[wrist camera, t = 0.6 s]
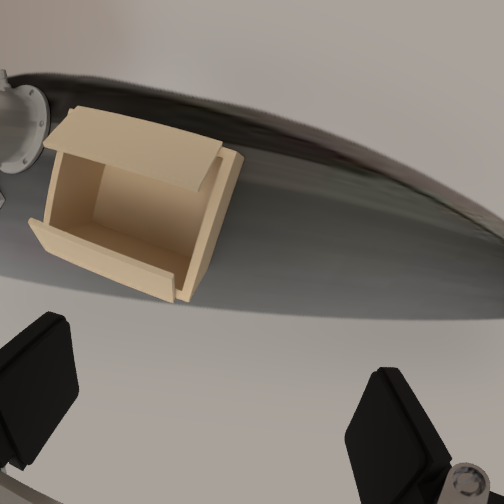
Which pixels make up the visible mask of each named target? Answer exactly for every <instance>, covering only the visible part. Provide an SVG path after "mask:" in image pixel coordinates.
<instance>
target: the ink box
mask: <svg viewBox="0 0 504 504" xmlns="http://www.w3.org/2000/svg"><path fill="white" fill-rule="evenodd" d="M4 201H5V199H4V197H3V195H2V194H1V192H0V208H1V206H2V205H3V203H4Z"/></svg>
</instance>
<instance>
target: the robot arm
mask: <svg viewBox="0 0 504 504" xmlns="http://www.w3.org/2000/svg"><path fill="white" fill-rule="evenodd" d="M49 126H50V108H49V104H48V101H47V98H46V96H45V95H44V93H43V92H42V91H41V90H40V89H38V88H37V87H34V86H30V85H22V86H19V87H16V88H15V89H12V88H11V85H10V84H8V79H7V74H6V71H5V70H0V170H1V171H3V172H5V173H9V174H14V173H20V172H23V171H24V170H26V169H28V168H29V167H30V166H31V165H32V164H33V163H34V162H35V161H36V160H37V158H38V157H39V155H40V153H41V152H42V149H43V147H44V145H43V142H44V141H45V139H46V138H47V136H48V132H49ZM78 393H79V385H78V379H77V374H76V368H75V362H74V355H73V348H72V339H71V332H70V324H69V323H68V322H67V321H66V318H65V317H64V316H63V315H60V314H56V313H53V312H49V311H48V312H46V313H45V314H43V315H42V316H41V317H39V318H38V319H37V320H36V321H35V322H33V323H32V324H30V325H29V326H28V327H27V328H25V329H24V330H23V331H22V332H20V333H19V334H18V335H17V336H15V337H14V338H13V339H12V340H11V341H9V342H8V343H7V344H6V345H5V346H3V347H2V348H1V349H0V504H63V503H61V502H58V501H56V500H54V499H52V498H50V497H48V496H46V495H44V494H42V493H40V492H38V491H36V490H34V489H32V488H30V487H28V486H26V485H25V484H23V483H21V482H19V481H17V480H16V479H14V478H12V477H10V476H9V475H7V474H6V469H5V465H6V464H7V463H8V462H9V464H11V465H13V466H15V467H16V468H18V469H20V470H22V471H23V470H24V469H25V467H26V465H31V464H32V463H33V462H34V460H35V459H36V457H37V456H38V454H39V453H40V451H41V449H42V448H43V446H44V445H45V443H46V442H47V440H48V439H49V437H50V436H51V434H52V433H53V431H54V430H55V428H56V427H57V425H58V424H59V423H60V421H61V420H62V418H63V417H64V415H65V414H66V413H67V411H68V409H69V408H70V407H71V405H72V404H73V403H74V401H75V399H76V398H77V396H78ZM345 444H346V448H347V452H348V455H349V459H350V463H351V466H352V470H353V474H354V478H355V481H356V485H357V489H358V492H359V497H360V501H361V504H504V496H501V495H499V494H496V493H494V492H491V491H490V481H489V478H488V476H487V474H486V473H485V471H484V470H482V469H481V468H480V467H478V466H476V465H474V464H471V463H459V464H456V465H455V466H453V467H452V466H451V464H450V461H451V460H452V457H451V455H450V454H449V452H448V450H447V448H446V447H445V445H444V443H443V441H442V440H441V438H440V436H439V434H438V433H437V431H436V429H435V428H434V426H433V424H432V422H431V421H430V419H429V417H428V416H427V414H426V412H425V411H424V409H423V408H422V406H421V404H420V403H419V401H418V399H417V398H416V396H415V394H414V393H413V391H412V389H411V388H410V386H409V384H408V383H407V381H406V380H405V378H404V376H403V375H402V373H401V372H400V370H399V369H398V368H394V367H380V368H379V369H378V370H377V371H375V372H373V373H372V374H371V377H370V379H369V381H368V384H367V386H366V389H365V391H364V393H363V395H362V398H361V400H360V403H359V405H358V407H357V409H356V411H355V413H354V416H353V418H352V420H351V422H350V424H349V426H348V428H347V430H346V433H345Z"/></svg>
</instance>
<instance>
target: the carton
mask: <svg viewBox="0 0 504 504" xmlns="http://www.w3.org/2000/svg"><path fill="white" fill-rule="evenodd" d="M73 110H74V109H69V112H68V115H69V114H70V113H71V112H72V111H73ZM68 115H67V116H68ZM243 161H244V157H243V156H242V155H241V154H239V153H238V152H237V151H234V150H231V149H227V148H224V147H221V149H220V151H219V153H218V155H217V157H216V159H215V160H214V162H213V164H212V166H211V168H210V170H209V172H208V174H207V176H206V178H205V180H204V182H203V184H202V186H201V188H200V190H199V192H198V193H197V192H194V191H191V190H187V189H184V188H181V187H178V186H175V185H172V184H169V183H165V182H162V181H159V180H156V179H153V178H149V177H146V176H143V175H140V174H136V173H133V172H130V171H127V170H123V169H120V168H117V167H113V166H110V165H106V164H103V163H100V162H96V161H93V160H89V159H86V158H82V157H79V156H75V155H72V154H68V153H64V152H61V151H57V154H56V159H55V163H54V167H53V172H52V176H51V181H50V186H49V191H48V196H47V202H46V208H45V214H44V221H43V223H45V224H47V225H50V226H52V227H55V228H57V229H59V230H62V231H64V232H67V233H69V234H72V235H74V236H77V237H79V238H82V239H84V240H87V241H89V242H92V243H94V244H97V245H99V246H102V247H104V248H107V249H109V250H112V251H115V252H117V253H120V254H122V255H125V256H128V257H130V258H133V259H136V260H138V261H141V262H144V263H146V264H149V265H152V266H154V267H157V268H160V269H163V270H165V271H168V272H171V273H174V283H175V298H178V299H180V300H183V301H186V302H189V301H190V299H191V297H192V296H193V294H194V292H195V290H196V289H197V287H198V285H199V283H200V281H201V280H202V278H203V276H204V275H205V273H206V271H207V269H208V267H209V264H210V261H211V257H212V254H213V251H214V248H215V245H216V242H217V239H218V236H219V233H220V230H221V226H222V223H223V220H224V217H225V214H226V211H227V208H228V205H229V202H230V199H231V196H232V193H233V190H234V187H235V185H236V182H237V179H238V176H239V173H240V170H241V167H242V164H243Z"/></svg>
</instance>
